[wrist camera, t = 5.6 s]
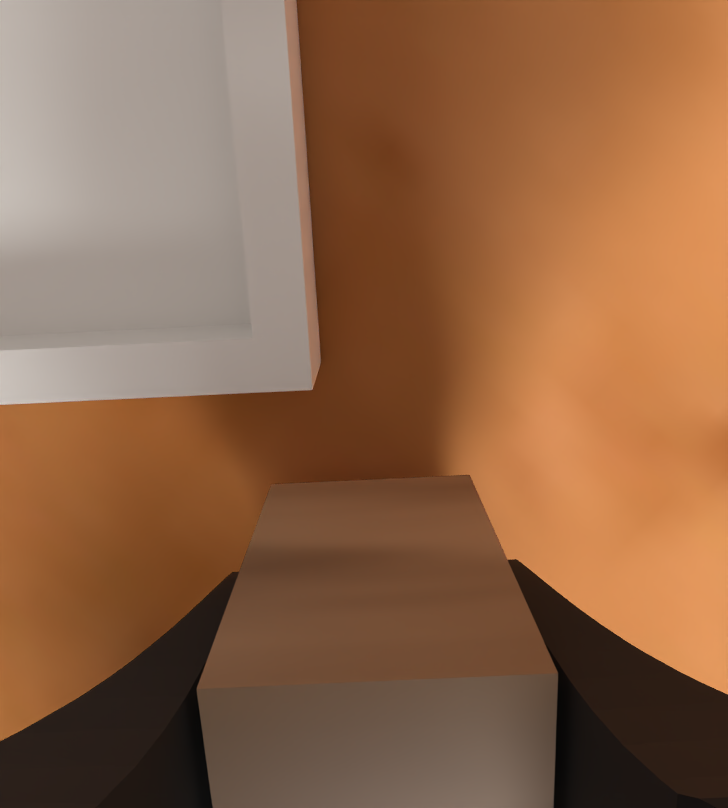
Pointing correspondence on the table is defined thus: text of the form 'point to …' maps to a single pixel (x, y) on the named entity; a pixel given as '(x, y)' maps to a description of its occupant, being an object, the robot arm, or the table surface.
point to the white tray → (153, 201)
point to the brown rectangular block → (378, 657)
